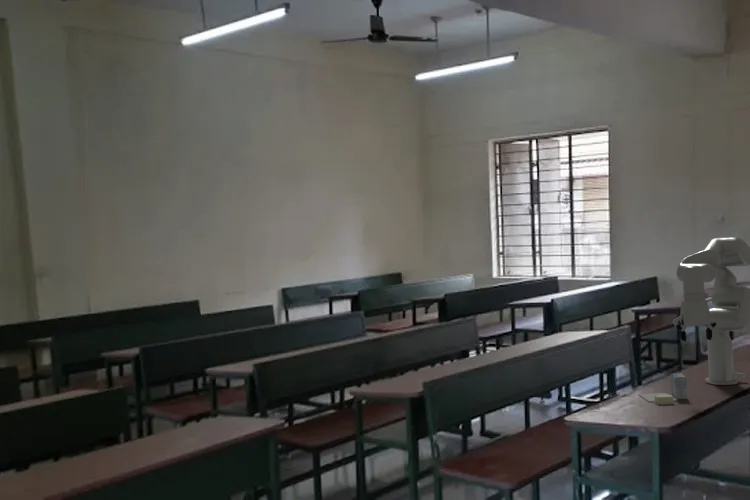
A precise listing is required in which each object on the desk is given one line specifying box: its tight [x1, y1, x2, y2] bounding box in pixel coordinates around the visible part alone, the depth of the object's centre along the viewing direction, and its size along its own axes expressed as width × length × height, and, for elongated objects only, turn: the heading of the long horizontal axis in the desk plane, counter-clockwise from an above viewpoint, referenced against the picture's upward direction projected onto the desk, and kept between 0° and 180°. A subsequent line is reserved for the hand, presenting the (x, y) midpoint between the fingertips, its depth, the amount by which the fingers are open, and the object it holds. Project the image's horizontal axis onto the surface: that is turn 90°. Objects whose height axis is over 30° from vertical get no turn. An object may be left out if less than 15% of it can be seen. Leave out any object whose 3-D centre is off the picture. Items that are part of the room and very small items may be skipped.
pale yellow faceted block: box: [654, 394, 675, 406], centre depth 272 cm, size 6×3×3 cm, turn 90°
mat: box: [638, 392, 679, 403], centre depth 280 cm, size 11×12×1 cm
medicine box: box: [670, 373, 689, 400], centre depth 280 cm, size 8×4×9 cm, turn 168°
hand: (696, 340), depth 279 cm, fingers open, 9 cm apart
